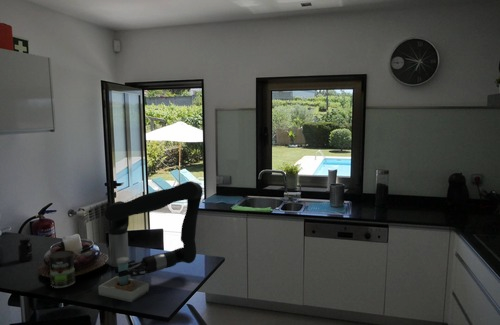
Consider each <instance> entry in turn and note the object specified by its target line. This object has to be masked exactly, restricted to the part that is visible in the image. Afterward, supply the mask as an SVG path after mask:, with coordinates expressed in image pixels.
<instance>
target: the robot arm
mask: <svg viewBox="0 0 500 325" xmlns="http://www.w3.org/2000/svg"><path fill="white" fill-rule="evenodd" d="M202 196H203V187H202V186H201V184H200V183H198V182H194V181H192V180H191V181H190V180H189V181H186V182H184V183H180V184H178V185H176V186H173V187H169V188H166V189H161V190H155V191H153V192H149V193H145V194H143V195H140V196H138V197H136V198H133V199H132V200H129V201H128V200H127V201H125V202H124V201H122V200H121V201H116V202H112V203H111V204H109V205H108V206H107V207H106V208H105V210H104V217H105V218H106V220H108V221H109V222H111V224H110V226H109V227H108V241H109V244H108V245H109V246H108V247H107V256H108V257H107V258H108V259H107V260H108V265H110V266H111V267H112V268H114V273H115V274H117V276H119V277H122V276H126V275H128V277H129V276H130V277H131V278H132V277H138V276H145V275H149V274H152V273H156V272H159V271H162V270H165V269H168V268H169V269H170V268H171V267H174V266H176V265H177V264H180V263H186V264H191V263H193V262H194V261H195V260H196V257H197V245H196V231H197V223H198V222H197V221H198V215H199V214H198V213H199V209H200V203H201V200H202ZM181 201H186V212H185V214H184V218H183V222H182V224H181V232H180V241H181V243H182V244H183V247H178V248H175V249H174V250H171V251H167V252H163V253H156V254H151V255H148V256H144V257H143V258H142V260H141V261H136V260H131V261H130V260H129V261H128V271H127V270H124V271H120V272H118V263H117V259H118V258H121V257H128V258H129V237H128V236H129V235H128V233H129V232H128V229H129V224H130V221H129V220H130V217H131V216H136V215H142V214H144V213H145V214H146V213H150V212H154V211H158V210H161V209H163V208H165V207H167V206H169V205H171V204H173V203H176V202H181Z"/></svg>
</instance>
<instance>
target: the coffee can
mask: <svg viewBox="0 0 500 325" xmlns="http://www.w3.org/2000/svg"><path fill="white" fill-rule="evenodd" d="M48 258H49V275H50V287H51V286H52V288H53V287H54V288H53V289H62V288H67V287H70V286H72V285H73V284H75V283H76V272H75V268H74V259H75V252H74V251H73V250H59V251H54V252H52V253H51V254H49V256H48Z"/></svg>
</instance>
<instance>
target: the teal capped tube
mask: <svg viewBox="0 0 500 325" xmlns="http://www.w3.org/2000/svg"><path fill="white" fill-rule="evenodd" d="M129 259H130V258H129V256H128V257H121V258H118V259H117V263H118V267H117V268H118V272H120V271H124V270H127V271H128V261H129V262H130V260H129ZM128 278H129V276H128V275H126V276H122V277H119V286H125V285H128V284H129V279H130V278H129V279H128Z"/></svg>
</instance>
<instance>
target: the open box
mask: <svg viewBox="0 0 500 325" xmlns="http://www.w3.org/2000/svg"><path fill="white" fill-rule="evenodd" d="M128 279H129V284H128V285H125V286H119V276H118V275H116V276H114V277H113V278H111V279H109V280H107V281H105V282H103V283H101V284H99V285H98V295H99V296H103V297H106V298H112V299H115V300H121V301H125V302H129V303H134V302H135V301H137V300H138V299H140V298H141V297H142V296H144V295H146V292H147V293H148V292H149V291H150V288H149V287H150V286H149V282H148V281H144V280H143V281H142V280H137V279H133V278H129V277H128Z"/></svg>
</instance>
